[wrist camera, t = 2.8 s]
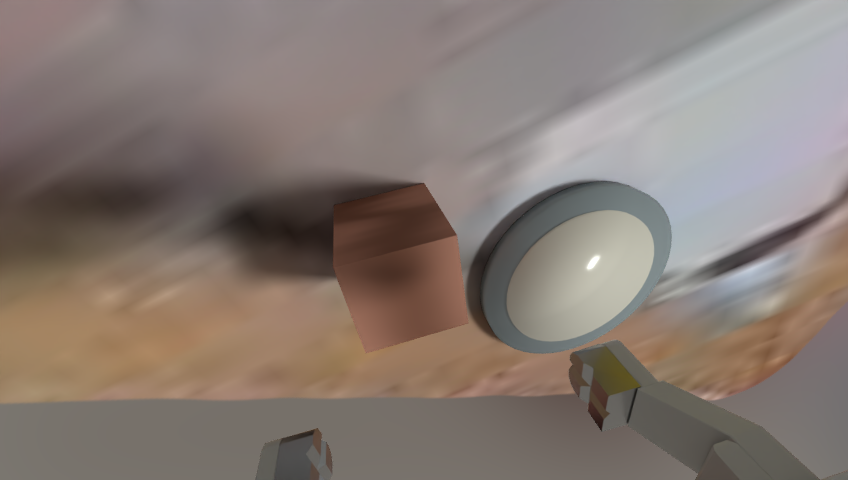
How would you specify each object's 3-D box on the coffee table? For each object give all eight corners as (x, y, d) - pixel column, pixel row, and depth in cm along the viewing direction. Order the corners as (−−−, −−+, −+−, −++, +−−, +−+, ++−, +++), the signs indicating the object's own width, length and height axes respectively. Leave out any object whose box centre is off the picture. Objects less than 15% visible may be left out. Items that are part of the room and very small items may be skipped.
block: (358, 277, 21) (366, 353, 16) (333, 204, 18) (333, 267, 13) (436, 256, 21) (468, 323, 16) (424, 182, 19) (456, 235, 14)
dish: (486, 363, 27) (492, 375, 26) (471, 212, 20) (478, 221, 19) (641, 316, 29) (652, 326, 28) (680, 158, 22) (697, 164, 20)
